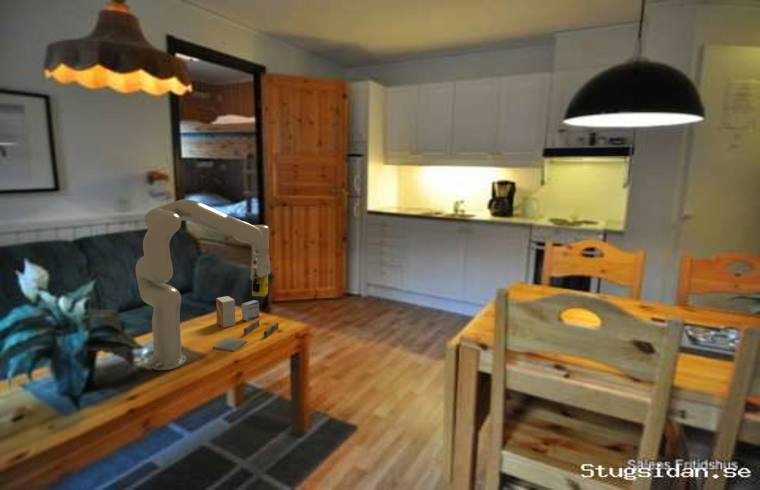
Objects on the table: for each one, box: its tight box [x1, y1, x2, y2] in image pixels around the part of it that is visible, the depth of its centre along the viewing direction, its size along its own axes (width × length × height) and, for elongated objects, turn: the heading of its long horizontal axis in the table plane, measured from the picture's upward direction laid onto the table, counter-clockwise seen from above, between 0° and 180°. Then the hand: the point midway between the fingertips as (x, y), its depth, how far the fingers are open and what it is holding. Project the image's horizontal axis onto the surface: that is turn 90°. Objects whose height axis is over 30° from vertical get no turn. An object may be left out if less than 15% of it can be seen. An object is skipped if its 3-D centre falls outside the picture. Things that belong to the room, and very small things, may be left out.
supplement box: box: [251, 274, 269, 299], centre depth 192 cm, size 6×6×11 cm
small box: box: [215, 295, 236, 329], centre depth 203 cm, size 8×6×13 cm
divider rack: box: [243, 319, 279, 339], centre depth 197 cm, size 12×11×3 cm
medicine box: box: [241, 299, 260, 322], centre depth 213 cm, size 8×4×9 cm, turn 150°
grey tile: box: [212, 337, 248, 352], centre depth 181 cm, size 10×10×1 cm
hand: (260, 289), depth 193 cm, fingers closed on supplement box, 6 cm apart
